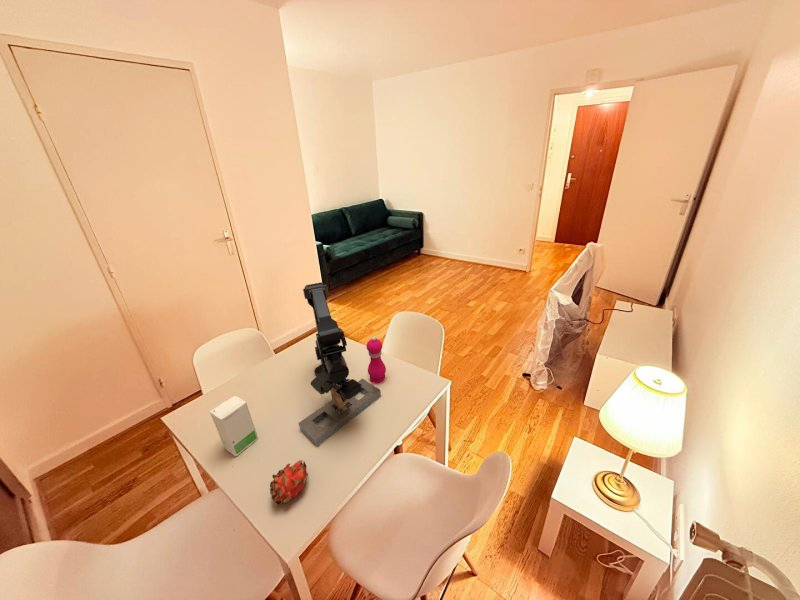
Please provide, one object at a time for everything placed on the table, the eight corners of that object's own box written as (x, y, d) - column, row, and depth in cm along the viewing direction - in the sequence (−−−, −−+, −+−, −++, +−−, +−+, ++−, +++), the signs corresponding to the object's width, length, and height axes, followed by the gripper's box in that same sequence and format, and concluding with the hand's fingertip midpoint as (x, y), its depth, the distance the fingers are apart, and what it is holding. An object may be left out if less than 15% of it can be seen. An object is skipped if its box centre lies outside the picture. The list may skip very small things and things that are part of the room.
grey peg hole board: (300, 429, 99) (298, 423, 98) (363, 384, 117) (362, 378, 116) (317, 446, 93) (315, 439, 92) (381, 396, 111) (380, 389, 110)
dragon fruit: (272, 515, 77) (305, 479, 87) (290, 513, 72) (323, 475, 83) (255, 487, 77) (290, 454, 87) (272, 483, 72) (307, 449, 83)
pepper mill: (387, 372, 123) (384, 331, 114) (385, 385, 117) (381, 342, 108) (370, 372, 124) (365, 331, 115) (367, 384, 117) (361, 342, 109)
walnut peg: (332, 402, 103) (329, 384, 100) (342, 396, 106) (339, 378, 102) (339, 408, 101) (336, 390, 97) (349, 401, 103) (346, 383, 100)
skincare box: (235, 457, 91) (219, 421, 84) (223, 448, 94) (207, 412, 87) (259, 437, 97) (246, 401, 90) (247, 429, 100) (234, 394, 94)
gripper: (296, 362, 96) (305, 399, 103) (330, 388, 85) (338, 427, 92) (325, 347, 103) (331, 381, 110) (360, 368, 92) (365, 406, 99)
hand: (340, 398), depth 103 cm, fingers closed on walnut peg, 4 cm apart
